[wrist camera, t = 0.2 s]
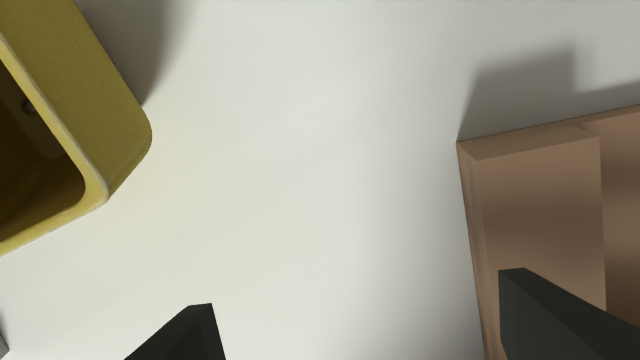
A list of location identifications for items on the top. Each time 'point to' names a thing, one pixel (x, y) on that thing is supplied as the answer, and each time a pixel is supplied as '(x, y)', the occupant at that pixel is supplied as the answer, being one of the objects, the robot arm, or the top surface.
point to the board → (556, 212)
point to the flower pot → (60, 121)
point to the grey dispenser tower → (3, 348)
